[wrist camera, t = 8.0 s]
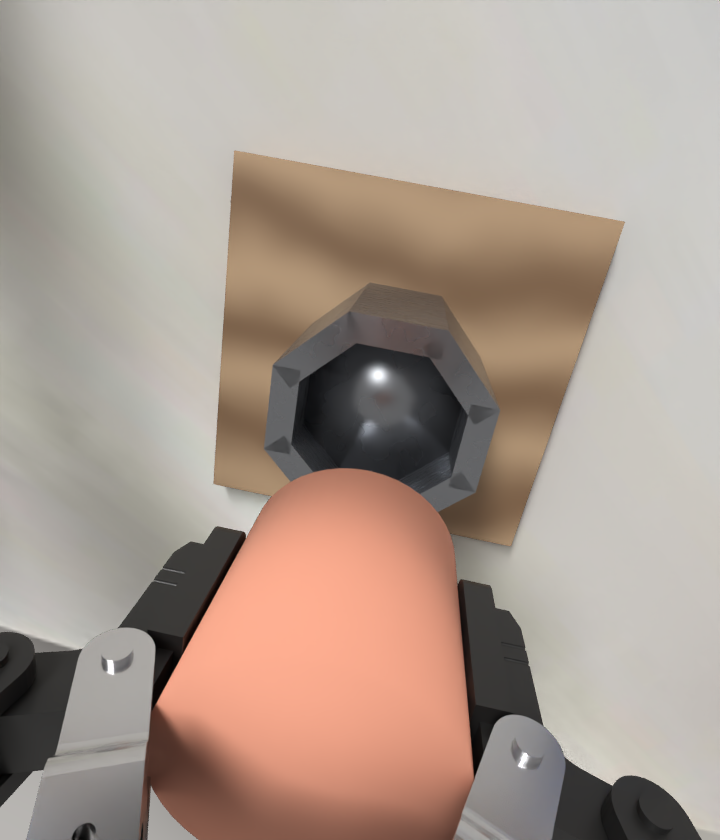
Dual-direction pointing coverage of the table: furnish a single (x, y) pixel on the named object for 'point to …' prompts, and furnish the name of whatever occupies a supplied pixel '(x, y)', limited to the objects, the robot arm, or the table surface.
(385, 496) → the salmon pink rounded cylinder
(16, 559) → the table surface
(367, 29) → the table surface
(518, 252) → the walnut board
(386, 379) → the grey octagonal cup
